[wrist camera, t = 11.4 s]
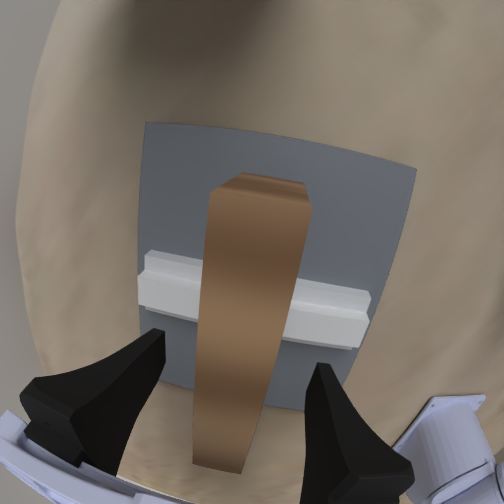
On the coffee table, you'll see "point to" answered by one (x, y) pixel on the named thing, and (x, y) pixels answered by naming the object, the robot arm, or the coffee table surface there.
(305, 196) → the walnut bar
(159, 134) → the ridge stand
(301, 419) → the coffee table surface
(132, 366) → the robot arm
